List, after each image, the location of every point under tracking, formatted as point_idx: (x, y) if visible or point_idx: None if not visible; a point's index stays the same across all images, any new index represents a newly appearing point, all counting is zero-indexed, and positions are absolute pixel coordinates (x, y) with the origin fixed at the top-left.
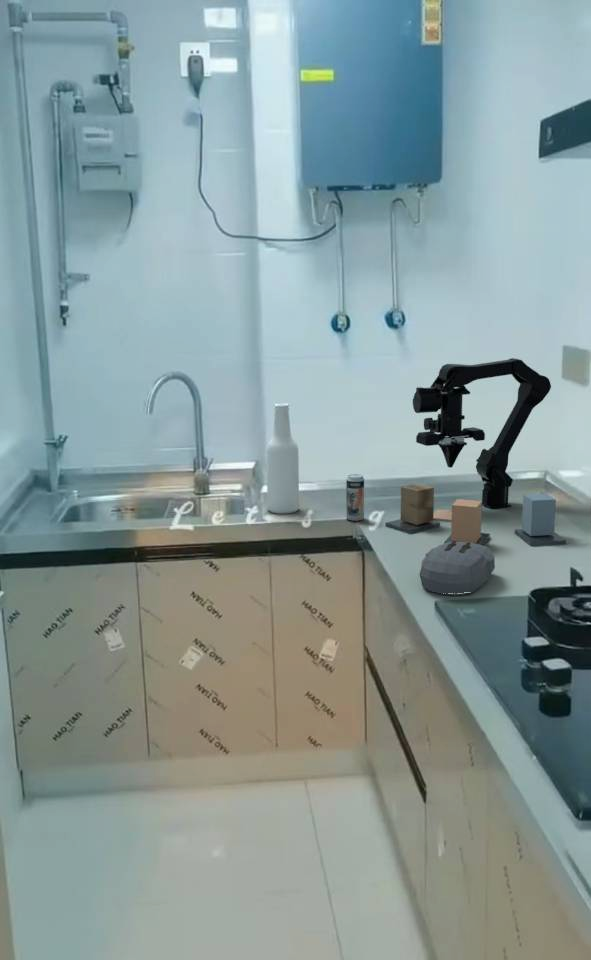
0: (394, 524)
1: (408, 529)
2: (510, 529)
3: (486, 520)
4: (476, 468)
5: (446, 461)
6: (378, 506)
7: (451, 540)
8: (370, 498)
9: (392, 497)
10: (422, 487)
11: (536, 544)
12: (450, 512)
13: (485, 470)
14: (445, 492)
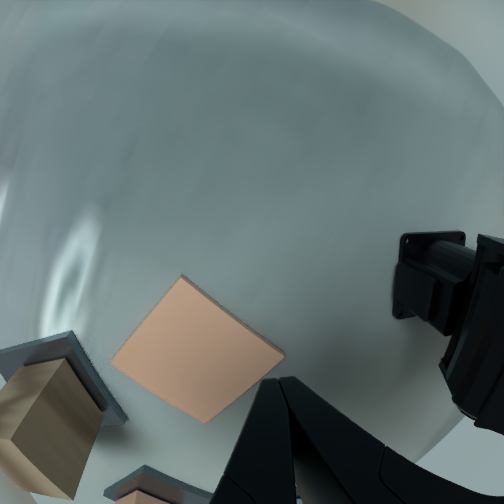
0: (8, 380)
1: None
2: None
3: None
4: (498, 279)
5: (248, 424)
6: (14, 121)
7: (116, 502)
8: (49, 11)
9: (120, 4)
10: (32, 480)
11: None
12: (210, 337)
13: (462, 399)
14: (366, 20)
